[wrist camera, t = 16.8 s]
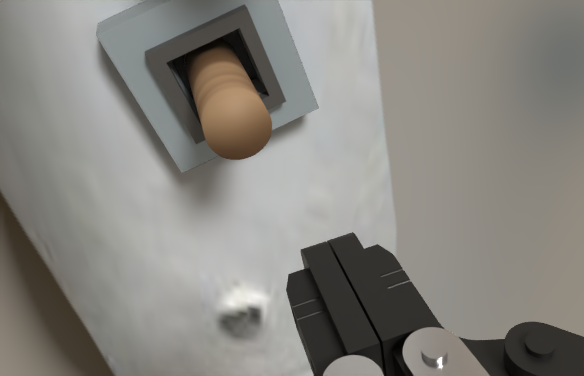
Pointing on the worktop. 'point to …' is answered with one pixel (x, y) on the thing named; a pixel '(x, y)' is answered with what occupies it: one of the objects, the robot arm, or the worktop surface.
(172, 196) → the worktop surface
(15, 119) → the worktop surface
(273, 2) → the socket
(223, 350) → the worktop surface
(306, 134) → the worktop surface
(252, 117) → the dowel
